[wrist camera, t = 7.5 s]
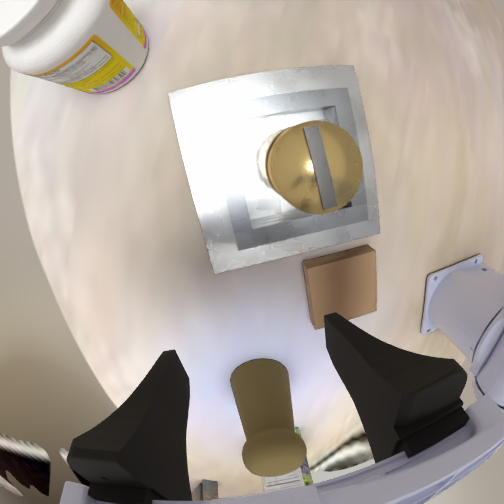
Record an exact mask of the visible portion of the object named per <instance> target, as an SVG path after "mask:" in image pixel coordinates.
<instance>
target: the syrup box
mask: <svg viewBox="0 0 504 504" xmlns="http://www.w3.org/2000/svg"><path fill="white" fill-rule="evenodd" d="M295 432H296V433H297V434H299V435H300V437H301V434H300V430H299V428H295ZM262 480H263V487H264V493H266V492H272V491H277V490H283V489H287V488H294V487H300V486H308V485H312V484H313V481H312V477H311V473H310V469H309V465H308V461H307V458H306V459H305V461H304V463H303V464H302V465H301V466H300V467H299V468H298V469H296V470H295V471H293V472H291V473H288V474H285V475H281V476H275V477H263V476H262Z"/></svg>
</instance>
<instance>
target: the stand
mask: <svg viewBox="0 0 504 504" xmlns="http://www.w3.org/2000/svg"><path fill="white" fill-rule="evenodd" d="M302 263H303V269H304V276H305V282H306V289H307V296H308V303H309V311H310V318H311V322H312V324H313V326H314V328H315V330H316V329H320V328H323V327H325V326H324V315H327V314H331V313H334V312H336V313H338V314H339V315H341V316H342V317H344V318H345V319H347V320H350V319H353V318H356V317H359V316H362V315H365V314H368V313H371V312H374V311H376V302H377V278H376V250H374V249H373V248H371V247H370V246H369V245H364V246H361V247H357V248H353V249H349V250H345V251H341V252H338V253H334V254H330V255H326V256H322V257H318V258H314V259H310V260H306V261H302Z"/></svg>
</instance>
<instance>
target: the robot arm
mask: <svg viewBox="0 0 504 504" xmlns="http://www.w3.org/2000/svg"><path fill="white" fill-rule="evenodd" d="M324 326H325V337H326V348H327V350H328V353H329V355H330V358H331V360H332V363H333V365H334V367H335V369H336V371H337V372H338V374H339V376H340V378H341V380H342V381H343V383H344V385H345V387H346V389H347V390H348V392H349V394H350V396H351V398H352V400H353V402H354V404H355V406H356V409H357V411H358V414H359V416H360V419H361V421H362V424H363V427H364V430H365V432H366V435H367V438H368V441H369V444H370V447H371V450H372V453H373V457H374V460H375V463H376V464H373V465H371V466H368V467H365V468H363V469H360V470H357V471H355V472H352V473H349V474H346V475H343V476H340V477H337V478H333V479H330V480H327V481H323V482H320V483H316V484H312V485H308V486H300V487H294V488H287V489H283V490H277V491H272V492H266V493H260V494H253V495H245V496H237V497H226V498H219V499H212V500H207V501H193V500H192V495H191V490H190V483H189V475H188V466H187V453H186V430H187V420H188V410H189V400H190V385H189V377H188V375H187V373H186V371H185V369H184V367H183V365H182V363H181V361H180V359H179V357H178V355H177V353H176V351H175V350H169V351H163V353H162V354H161V355H160V357H159V358H158V359H157V361H156V362H155V364H154V365H153V367H152V368H151V370H150V371H149V372H148V374H147V375H146V377H145V378H144V379H143V381H142V382H141V383H140V384H139V386H138V387H137V388H136V389H135V391H134V392H133V393H132V394H131V395H130V397H129V398H128V399H127V400H126V401H125V402H124V403H123V404H122V405H121V406H120V407H119V408H118V409H117V410H116V411H114V412H113V413H112V414H111V415H110V416H109V417H108V418H106V419H105V420H104V421H102V422H101V423H100V424H98V425H97V426H96V427H94V428H92V429H91V430H89V431H87V432H85V433H84V434H82V435H80V436H78V437H77V438H74V439H73V441H72V444H71V447H70V450H69V453H68V456H67V462H68V464H69V465H70V467H71V468H72V469H74V470H75V471H76V472H77V473H79V474H80V475H81V476H82V477H84V478H85V479H86V480H88V481H89V482H90V486H89V487H87V486H85V485H82V484H78V483H73V482H69V481H66V482H65V485H64V489H63V493H62V496H61V500H60V504H423V503H425V502H427V501H428V500H430V499H432V498H434V497H435V496H437V495H438V494H440V493H441V492H443V491H444V490H446V489H448V488H449V487H451V486H452V485H454V484H455V483H456V482H458V481H459V480H461V479H462V478H464V477H465V476H467V475H468V474H469V473H471V472H472V471H473V470H475V469H476V468H477V467H479V466H480V465H481V464H482V463H484V462H485V461H486V460H488V459H489V458H490V457H491V456H492V455H493V454H494V453H495V452H496V451H497V450H498V449H499V447H500V446H501V445H502V444H503V443H504V276H503V275H502V274H500V273H499V272H497V271H495V270H494V269H492V268H490V267H489V266H487V265H485V264H484V263H483V256H482V255H481V254H479V255H477V256H475V257H472V258H470V259H467V260H465V261H463V262H460V263H458V264H455V265H453V266H450V267H448V268H445V269H443V270H440V271H438V272H435V273H432V274H430V275H429V276H428V278H427V286H426V296H425V305H424V313H423V320H422V326H421V334H422V335H426V334H428V333H430V332H432V331H435V330H437V329H439V330H440V331H441V332H442V333H443V334H444V335H445V336H446V337H447V338H448V339H449V340H450V341H451V342H452V343H453V344H454V345H455V346H456V347H457V348H458V349H459V350H460V351H461V352H462V353H463V354H464V355H465V356H466V357H467V358H468V359H469V360H470V361H471V363H472V365H471V367H470V371H471V372H472V373H473V374H474V375H475V376H474V377H473V379H472V387H473V390H474V394H475V396H476V398H477V401H476V402H475V403H473V404H472V405H470V406H469V407H468V408H467V409H466V410H465V411H464V409H463V408H462V405H463V401H462V400H461V399H460V395H461V393H462V391H463V389H464V387H465V384H466V381H467V373H466V372H465V371H464V369H463V368H462V367H461V366H460V365H459V364H458V363H457V362H456V361H455V360H454V359H446V358H436V357H430V356H425V355H420V354H416V353H413V352H409V351H406V350H403V349H400V348H397V347H395V346H392V345H390V344H388V343H385V342H383V341H381V340H379V339H377V338H375V337H373V336H372V335H370V334H368V333H366V332H365V331H363V330H362V329H360V328H358V327H357V326H355V325H354V324H352V323H351V322H349V321H348V320H347V319H345V318H344V317H342V316H341V315H339V314H338V313H336V312H334V313H331V314H327V315H324Z"/></svg>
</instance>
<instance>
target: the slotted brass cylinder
mask: <svg viewBox="0 0 504 504" xmlns="http://www.w3.org/2000/svg"><path fill="white" fill-rule="evenodd" d="M258 163H259V170H260V173H261V176H262V178H263V180H264V181H265V182H266V184H267V185H268V186H269V187H270V188H271V189H273V190H274V191H275V192H276V193H277V194H279V195H280V196H281V197H282V198H283V199H285V200H286V201H287V202H288V203H289V204H291V205H292V206H293V207H295V208H296V209H298V210H300V211H303V212H306V213H309V214H319V215H320V214H327V213H331V212H334V211H337V210H338V209H340V208H342V207H343V206H345V205H346V204H347V203H348V202H349V201H350V200H351V199H352V198H353V197H354V195H355V194H356V192H357V190H358V188H359V186H360V183H361V180H362V176H363V161H362V156H361V152H360V150H359V147H358V145H357V144H356V142H355V140H354V139H353V138H352V136H351V135H350V134H349V133H348V132H347V131H345V130H344V129H343V128H341V127H340V126H338V125H336V124H334V123H331V122H327V121H322V120H313V121H307V122H304V123H300V124H297V125H294V126H291V127H288V128H285V129H282V130H279V131H277V132H275V133H274V134H272V135H271V136H270V137H269V138H268V139H267V140H266V141H265V142H264V144H263V146H262V148H261V150H260V153H259V161H258Z"/></svg>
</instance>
